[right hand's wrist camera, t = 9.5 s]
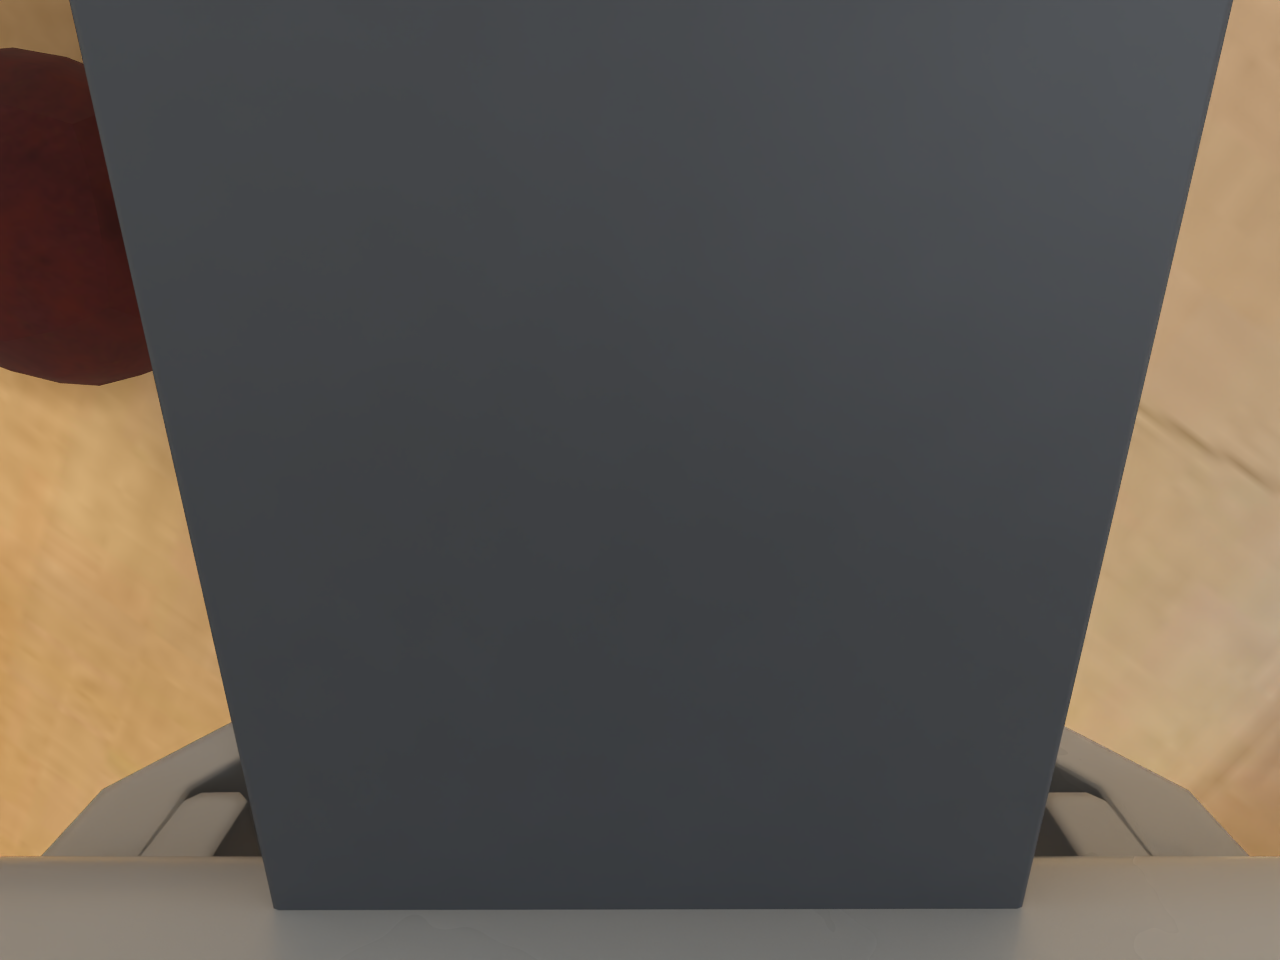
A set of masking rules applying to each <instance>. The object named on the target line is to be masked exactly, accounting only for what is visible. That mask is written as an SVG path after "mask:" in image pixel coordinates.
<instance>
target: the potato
mask: <svg viewBox="0 0 1280 960" xmlns="http://www.w3.org/2000/svg"><path fill="white" fill-rule="evenodd" d="M0 367H2V368H5V369H8V370H10V371H14V372H18V373H22V374H26V375H30V376H34V377H38V378H42V379H46V380H50V381H54V382H58V383H68V384H83V385H98V386H100V385H104V384H108V383H112V382H115V381H119V380H123V379H127V378H131V377H135V376H139V375H142V374H145V373H147V372H150V371H153V370H152V366H151V361H150V357H149V352H148V348H147V343H146V339H145V334H144V330H143V326H142V321H141V317H140V312H139V308H138V303H137V299H136V294H135V290H134V286H133V281H132V277H131V272H130V268H129V263H128V259H127V254H126V250H125V246H124V241H123V237H122V232H121V228H120V223H119V219H118V214H117V210H116V206H115V201H114V197H113V192H112V188H111V183H110V179H109V174H108V170H107V166H106V161H105V157H104V152H103V148H102V143H101V139H100V134H99V130H98V126H97V121H96V117H95V112H94V108H93V103H92V99H91V94H90V90H89V86H88V81H87V77H86V72H85V68H84V64H82V63H80V62H77V61H75V60H72V59H70V58H67V57H63V56H57V55H51V54H46V53H40V52H34V51H29V50H23V49H17V48H4V49H0Z"/></svg>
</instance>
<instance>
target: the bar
mask: <svg viewBox="0 0 1280 960" xmlns="http://www.w3.org/2000/svg"><path fill="white" fill-rule="evenodd" d="M69 1H70V6H71V10H72V14H73V19H74V23H75V28H76V32H77V37H78V41H79V46H80V50H81V54H82V59H83V63H84V68H85V72H86V77H87V81H88V86H89V90H90V94H91V99H92V103H93V108H94V112H95V117H96V121H97V126H98V130H99V134H100V139H101V143H102V148H103V152H104V157H105V161H106V166H107V170H108V174H109V179H110V183H111V188H112V192H113V197H114V201H115V206H116V210H117V214H118V219H119V223H120V228H121V232H122V237H123V241H124V246H125V250H126V254H127V259H128V263H129V268H130V272H131V277H132V281H133V286H134V290H135V294H136V299H137V303H138V308H139V312H140V317H141V321H142V326H143V330H144V334H145V339H146V343H147V348H148V352H149V357H150V361H151V366H152V370H153V374H154V379H155V383H156V388H157V392H158V397H159V401H160V406H161V410H162V414H163V419H164V423H165V428H166V432H167V437H168V441H169V446H170V450H171V454H172V459H173V463H174V468H175V472H176V477H177V481H178V486H179V490H180V494H181V499H182V503H183V508H184V512H185V517H186V521H187V526H188V530H189V534H190V539H191V543H192V548H193V552H194V557H195V561H196V566H197V570H198V574H199V579H200V583H201V588H202V592H203V597H204V601H205V606H206V610H207V614H208V619H209V623H210V628H211V632H212V637H213V641H214V646H215V650H216V654H217V659H218V663H219V668H220V672H221V677H222V681H223V686H224V690H225V694H226V699H227V703H228V708H229V712H230V717H231V721H232V726H233V730H234V734H235V739H236V743H237V748H238V752H239V757H240V761H241V766H242V770H243V774H244V779H245V783H246V788H247V792H248V797H249V801H250V806H251V810H252V814H253V819H254V823H255V828H256V832H257V837H258V841H259V846H260V850H261V854H262V859H263V863H264V868H265V872H266V877H267V881H268V886H269V890H270V894H271V899H272V903H273V908H274V909H277V910H629V909H1018V908H1020V907H1022V905H1023V901H1024V897H1025V892H1026V888H1027V884H1028V879H1029V875H1030V871H1031V866H1032V862H1033V858H1034V854H1035V849H1036V845H1037V841H1038V836H1039V832H1040V828H1041V823H1042V819H1043V815H1044V811H1045V806H1046V802H1047V798H1048V793H1049V789H1050V785H1051V780H1052V776H1053V772H1054V768H1055V763H1056V759H1057V755H1058V750H1059V746H1060V742H1061V737H1062V733H1063V729H1064V725H1065V720H1066V716H1067V712H1068V707H1069V703H1070V699H1071V694H1072V690H1073V686H1074V682H1075V677H1076V673H1077V669H1078V664H1079V660H1080V656H1081V651H1082V647H1083V643H1084V639H1085V634H1086V630H1087V626H1088V621H1089V617H1090V613H1091V608H1092V604H1093V600H1094V596H1095V591H1096V587H1097V583H1098V578H1099V574H1100V570H1101V566H1102V561H1103V557H1104V553H1105V548H1106V544H1107V540H1108V535H1109V531H1110V527H1111V523H1112V518H1113V514H1114V510H1115V505H1116V501H1117V497H1118V492H1119V488H1120V484H1121V480H1122V475H1123V471H1124V467H1125V462H1126V458H1127V454H1128V449H1129V445H1130V441H1131V437H1132V432H1133V428H1134V424H1135V419H1136V415H1137V411H1138V406H1139V402H1140V398H1141V394H1142V389H1143V385H1144V381H1145V376H1146V372H1147V368H1148V363H1149V359H1150V355H1151V351H1152V346H1153V342H1154V338H1155V333H1156V329H1157V325H1158V320H1159V316H1160V312H1161V308H1162V303H1163V299H1164V295H1165V290H1166V286H1167V282H1168V277H1169V273H1170V269H1171V265H1172V260H1173V256H1174V252H1175V247H1176V243H1177V239H1178V234H1179V230H1180V226H1181V222H1182V217H1183V213H1184V209H1185V204H1186V200H1187V196H1188V191H1189V187H1190V183H1191V179H1192V174H1193V170H1194V166H1195V161H1196V157H1197V153H1198V148H1199V144H1200V140H1201V136H1202V131H1203V127H1204V123H1205V118H1206V114H1207V110H1208V105H1209V101H1210V97H1211V93H1212V88H1213V84H1214V80H1215V75H1216V71H1217V67H1218V62H1219V58H1220V54H1221V50H1222V45H1223V41H1224V37H1225V32H1226V28H1227V24H1228V19H1229V15H1230V11H1231V7H1232V2H1233V0H69Z"/></svg>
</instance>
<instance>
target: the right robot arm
mask: <svg viewBox="0 0 1280 960" xmlns="http://www.w3.org/2000/svg"><path fill="white" fill-rule="evenodd" d="M0 960H1280V856H1249V855H1248V854H1247V853H1246V852H1245V851H1244V850H1243V849H1242V848H1241V847H1240V845H1239V844H1238V843H1237V842H1236V841H1235V840H1234V839H1233V838H1232V837H1231V836H1230V835H1229V834H1228V833H1227V831H1226V830H1225V829H1224V828H1223V827H1222V826H1221V825H1220V824H1219V823H1218V822H1217V821H1216V820H1215V819H1214V817H1213V816H1212V815H1211V814H1210V813H1209V812H1208V811H1207V810H1206V809H1205V808H1204V807H1203V806H1202V805H1201V803H1200V802H1199V801H1198V800H1197V799H1196V798H1195V797H1194V796H1193V795H1192V794H1191V793H1190V792H1189V791H1188V790H1187V789H1185V788H1183V787H1181V786H1179V785H1177V784H1175V783H1173V782H1171V781H1169V780H1167V779H1165V778H1163V777H1162V776H1160V775H1158V774H1156V773H1154V772H1152V771H1150V770H1148V769H1146V768H1144V767H1142V766H1140V765H1138V764H1136V763H1134V762H1133V761H1131V760H1129V759H1127V758H1125V757H1123V756H1121V755H1119V754H1117V753H1115V752H1113V751H1111V750H1109V749H1107V748H1105V747H1104V746H1102V745H1100V744H1098V743H1096V742H1094V741H1092V740H1090V739H1088V738H1086V737H1084V736H1082V735H1080V734H1078V733H1077V732H1075V731H1073V730H1071V729H1069V728H1067V727H1065V726H1064V729H1063V733H1062V737H1061V742H1060V746H1059V750H1058V755H1057V759H1056V763H1055V768H1054V772H1053V776H1052V780H1051V785H1050V789H1049V793H1048V798H1047V802H1046V806H1045V811H1044V815H1043V819H1042V823H1041V828H1040V832H1039V836H1038V841H1037V845H1036V849H1035V854H1034V858H1033V862H1032V866H1031V871H1030V875H1029V879H1028V884H1027V888H1026V892H1025V897H1024V901H1023V905H1022V907H1020V908H1018V909H629V910H277V909H274V908H273V903H272V899H271V894H270V890H269V886H268V881H267V877H266V872H265V868H264V863H263V859H262V854H261V850H260V846H259V841H258V837H257V832H256V828H255V823H254V819H253V814H252V810H251V806H250V801H249V797H248V792H247V788H246V783H245V779H244V774H243V770H242V766H241V761H240V757H239V752H238V748H237V743H236V739H235V734H234V730H233V726H232V722H231V723H229V724H227V725H225V726H223V727H221V728H219V729H217V730H215V731H214V732H212V733H210V734H208V735H206V736H204V737H202V738H200V739H198V740H196V741H194V742H192V743H190V744H189V745H187V746H185V747H183V748H181V749H179V750H177V751H175V752H173V753H171V754H169V755H167V756H166V757H164V758H162V759H160V760H158V761H156V762H154V763H152V764H150V765H148V766H146V767H144V768H142V769H141V770H139V771H137V772H135V773H133V774H131V775H129V776H127V777H125V778H123V779H121V780H119V781H118V782H116V783H114V784H112V785H110V786H108V787H106V788H104V789H102V790H101V792H100V793H99V794H98V795H97V796H96V797H95V798H94V799H93V800H92V801H91V802H90V804H89V805H88V806H87V807H86V808H85V809H84V810H83V811H82V812H81V813H80V814H79V815H78V817H77V818H76V819H75V820H74V821H73V822H72V823H71V824H70V825H69V826H68V827H67V829H66V830H65V831H64V832H63V833H62V834H61V835H60V836H59V837H58V838H57V839H56V841H55V842H54V843H53V844H52V845H51V846H50V847H49V848H48V849H47V850H46V851H45V852H44V854H43V855H42V856H0Z"/></svg>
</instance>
